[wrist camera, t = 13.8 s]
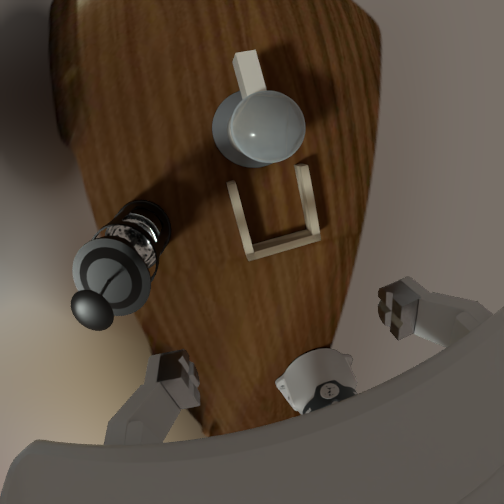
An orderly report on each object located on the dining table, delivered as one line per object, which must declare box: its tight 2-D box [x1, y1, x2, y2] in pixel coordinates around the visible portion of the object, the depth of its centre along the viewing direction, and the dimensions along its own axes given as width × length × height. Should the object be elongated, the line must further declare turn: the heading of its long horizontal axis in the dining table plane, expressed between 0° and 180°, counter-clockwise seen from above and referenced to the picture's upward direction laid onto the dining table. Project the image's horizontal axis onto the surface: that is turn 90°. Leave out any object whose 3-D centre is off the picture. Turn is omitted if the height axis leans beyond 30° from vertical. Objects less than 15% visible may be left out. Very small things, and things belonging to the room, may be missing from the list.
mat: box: [212, 91, 272, 168], centre depth 37 cm, size 12×12×1 cm
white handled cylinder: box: [227, 50, 305, 163], centre depth 32 cm, size 14×8×10 cm, turn 13°
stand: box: [226, 163, 321, 261], centre depth 42 cm, size 12×12×3 cm
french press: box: [71, 200, 171, 331], centre depth 30 cm, size 12×9×23 cm
